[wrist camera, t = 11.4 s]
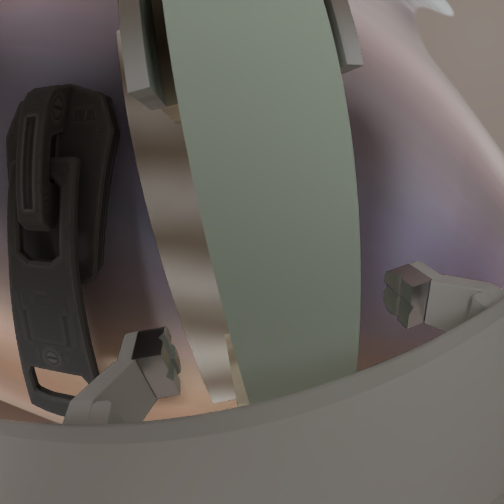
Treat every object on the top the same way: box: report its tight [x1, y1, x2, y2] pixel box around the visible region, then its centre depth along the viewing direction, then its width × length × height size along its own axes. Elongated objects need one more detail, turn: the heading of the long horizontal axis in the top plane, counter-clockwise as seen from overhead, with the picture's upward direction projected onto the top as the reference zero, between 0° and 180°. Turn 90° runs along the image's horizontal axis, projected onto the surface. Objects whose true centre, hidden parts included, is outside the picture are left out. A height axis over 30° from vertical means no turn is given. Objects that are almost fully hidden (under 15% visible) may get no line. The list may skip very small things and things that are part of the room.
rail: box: [162, 0, 361, 404], centre depth 11 cm, size 26×4×5 cm, turn 10°
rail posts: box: [116, 0, 364, 407], centre depth 16 cm, size 32×12×13 cm, turn 10°
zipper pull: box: [6, 84, 120, 417], centre depth 17 cm, size 9×7×25 cm
